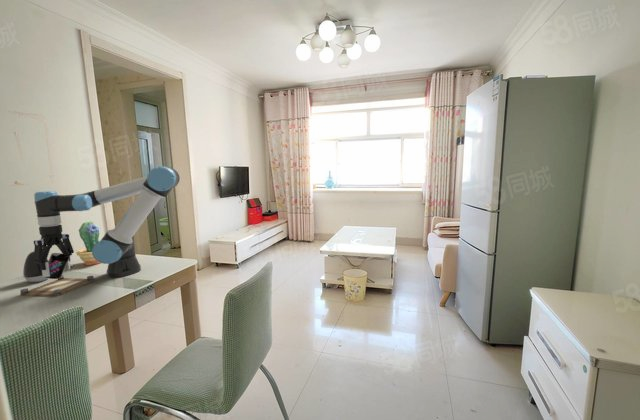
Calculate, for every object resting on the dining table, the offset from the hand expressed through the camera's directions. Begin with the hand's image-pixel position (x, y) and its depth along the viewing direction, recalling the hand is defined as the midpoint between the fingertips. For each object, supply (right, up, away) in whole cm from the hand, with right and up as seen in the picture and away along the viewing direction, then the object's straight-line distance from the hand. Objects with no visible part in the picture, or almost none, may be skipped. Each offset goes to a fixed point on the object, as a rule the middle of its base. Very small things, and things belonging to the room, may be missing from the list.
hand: (57, 272), depth 129 cm
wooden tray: (0, -7, +1) cm, 7 cm away
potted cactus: (-14, -3, +38) cm, 41 cm away
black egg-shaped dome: (-19, -7, +11) cm, 23 cm away
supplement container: (0, -3, 0) cm, 3 cm away
